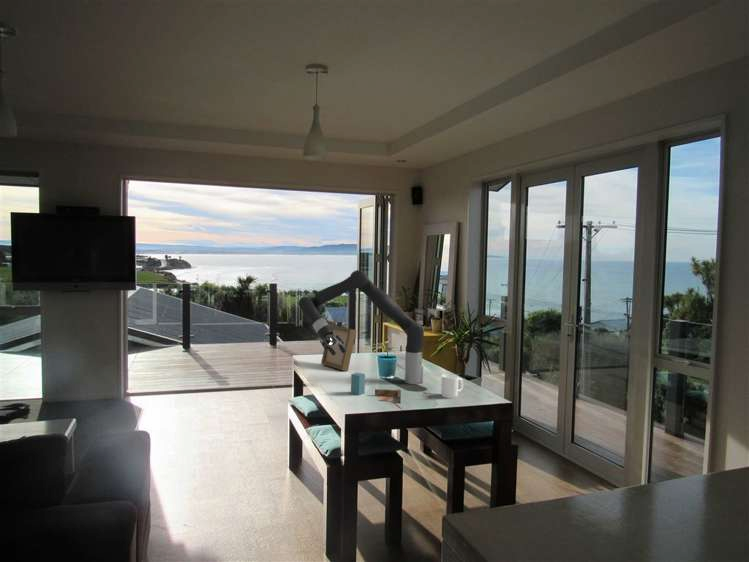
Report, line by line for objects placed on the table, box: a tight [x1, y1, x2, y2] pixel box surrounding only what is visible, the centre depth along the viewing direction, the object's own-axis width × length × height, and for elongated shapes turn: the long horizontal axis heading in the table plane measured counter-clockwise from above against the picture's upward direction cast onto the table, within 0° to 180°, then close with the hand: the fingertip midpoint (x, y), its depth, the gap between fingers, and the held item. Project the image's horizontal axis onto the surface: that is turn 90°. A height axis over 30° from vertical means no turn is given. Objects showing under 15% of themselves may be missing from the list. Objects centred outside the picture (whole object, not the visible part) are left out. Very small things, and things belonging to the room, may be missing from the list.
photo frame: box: [320, 324, 357, 372], centre depth 338 cm, size 15×22×25 cm
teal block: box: [350, 372, 366, 396], centre depth 279 cm, size 5×5×10 cm
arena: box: [374, 388, 402, 404], centre depth 270 cm, size 13×13×3 cm
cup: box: [440, 374, 464, 399], centre depth 279 cm, size 8×12×10 cm
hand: (339, 353), depth 284 cm, fingers open, 8 cm apart
